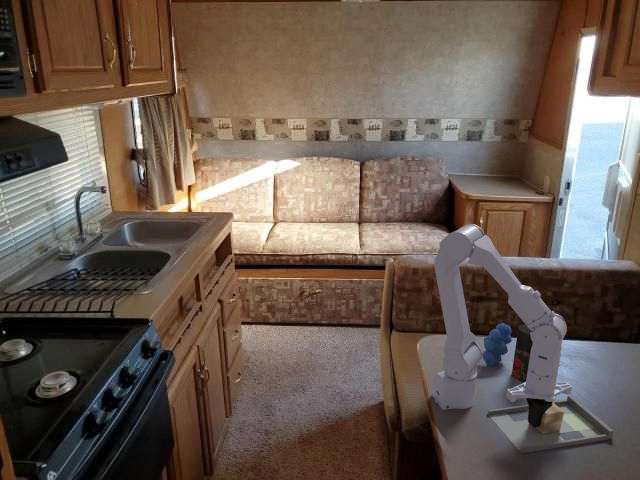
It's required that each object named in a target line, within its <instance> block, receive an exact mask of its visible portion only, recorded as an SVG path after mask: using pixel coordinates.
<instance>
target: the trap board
mask: <svg viewBox="0 0 640 480" xmlns="http://www.w3.org/2000/svg"><path fill="white" fill-rule="evenodd" d="M552 402H553V403H554V404H555V405H557V406H558V407H559V408H560V409H561V410H563V411H564V415H563V420H562V424H561V428H560V432H553V433H546V434H542V433H541V432H540V431H539V430H538V429H537V428H536V427H533V426H532V425H531V424H530V423H529V422H528V419H523V420H517V421H514V420H513V418H512V417H511V416H510V415H509V414H510V413H516V412H523V411H525V412H526V413H527V414H528V412H529V406H528V404H525V405H516V406H510V407H503V408H495V409H488V410H487V416H488V417H489V418H491V420H492V421H493V423H495V425H496V426H497V427H498V428H499V430H500V431H501V432H503V434H504V435H505V436H506V437H507V438H508V440H510V442H511V443H512V445H513V446H514V447H515V448H516V449H517V450H518V451H519V452H520V454H526V453H533V452H538V451H544V450H545V451H546V450H551V449H557V448H562V447H563V448H564V447H570V446H577V445H581V444H582V445H583V444H587V443H588V444H589V443H595V442H600V441H606V440H613V435H614V433H615V432H614V431H615V430H614V429H612V428H611V427H610V426H609V425H607V424H606V422H604V421H603V420H602V419H600V418H599V417H598V416H597V415H596V414H595V413H594V412H592V411H591V410H590V409H589V408H588V407H586V406H585V405H584V404H583V403H581V402H580V401H579V400H577V398H575V397H574V396H573V395H571V394H569V395H567V399H561V400H555V401H552ZM508 413H509V414H508ZM572 432H578V433H579V434H580V435H581V436H583V437H579V438H573V439H566V440H565V439H564V438H563V437H562V436H561V435H560V434H565V433H572Z"/></svg>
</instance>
